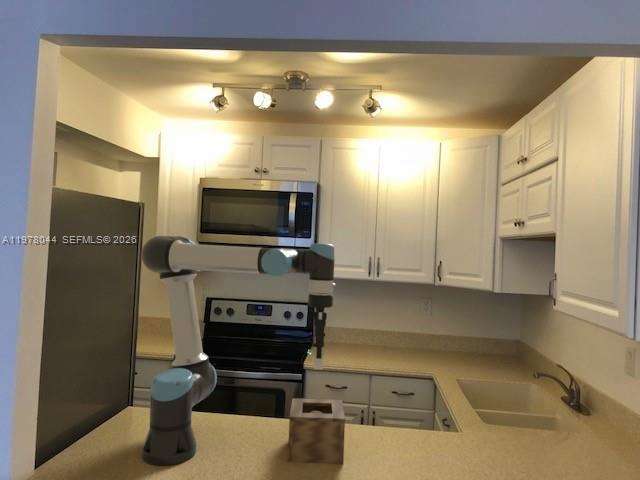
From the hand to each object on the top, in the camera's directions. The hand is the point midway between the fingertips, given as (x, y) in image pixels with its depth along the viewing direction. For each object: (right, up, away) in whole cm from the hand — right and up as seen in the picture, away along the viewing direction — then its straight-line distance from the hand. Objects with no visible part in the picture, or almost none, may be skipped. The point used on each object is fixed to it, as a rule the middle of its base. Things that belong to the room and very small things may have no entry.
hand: (318, 363), depth 139 cm
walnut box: (-1, -27, 0) cm, 27 cm away
